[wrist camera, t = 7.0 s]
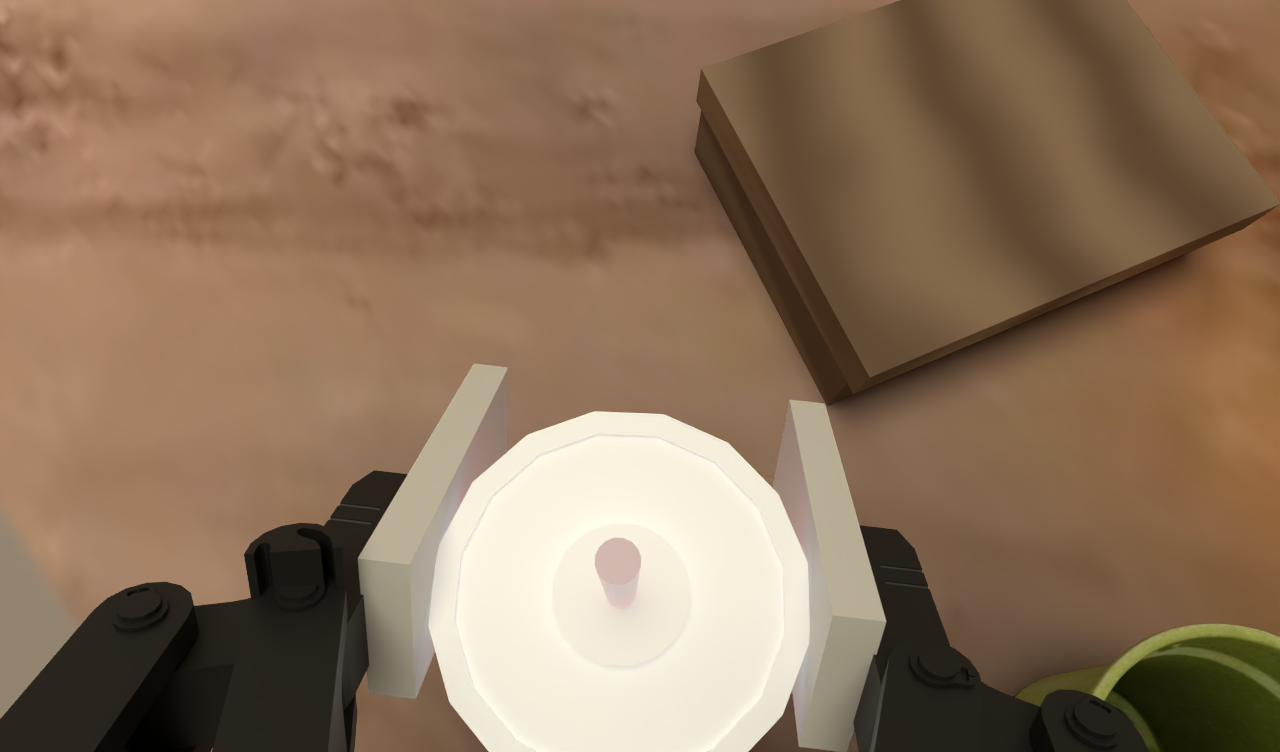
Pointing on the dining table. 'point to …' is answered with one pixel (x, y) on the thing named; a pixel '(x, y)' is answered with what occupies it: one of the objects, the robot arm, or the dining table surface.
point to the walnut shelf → (960, 173)
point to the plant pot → (1189, 689)
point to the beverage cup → (620, 593)
